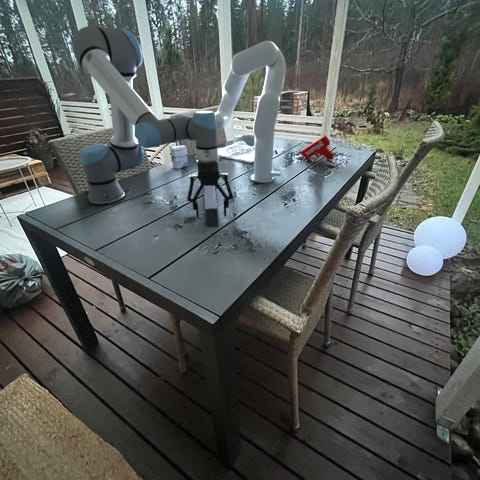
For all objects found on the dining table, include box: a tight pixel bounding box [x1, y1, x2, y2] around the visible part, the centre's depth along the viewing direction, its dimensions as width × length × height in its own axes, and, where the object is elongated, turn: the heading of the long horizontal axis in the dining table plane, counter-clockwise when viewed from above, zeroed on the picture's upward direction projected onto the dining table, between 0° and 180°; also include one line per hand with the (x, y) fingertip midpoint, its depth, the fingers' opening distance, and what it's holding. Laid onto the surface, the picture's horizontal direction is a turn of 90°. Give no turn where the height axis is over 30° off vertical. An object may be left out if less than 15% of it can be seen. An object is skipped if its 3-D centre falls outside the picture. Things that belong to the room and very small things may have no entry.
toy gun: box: [299, 134, 335, 162], centre depth 173 cm, size 18×4×15 cm
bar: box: [203, 185, 219, 227], centre depth 127 cm, size 61×4×7 cm, turn 7°
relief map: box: [218, 140, 274, 164], centre depth 187 cm, size 27×35×5 cm
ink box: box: [169, 144, 189, 170], centre depth 162 cm, size 8×5×12 cm, turn 135°
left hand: (211, 215), depth 107 cm, fingers open, 10 cm apart
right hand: (208, 172), depth 149 cm, fingers closed on bar, 4 cm apart
